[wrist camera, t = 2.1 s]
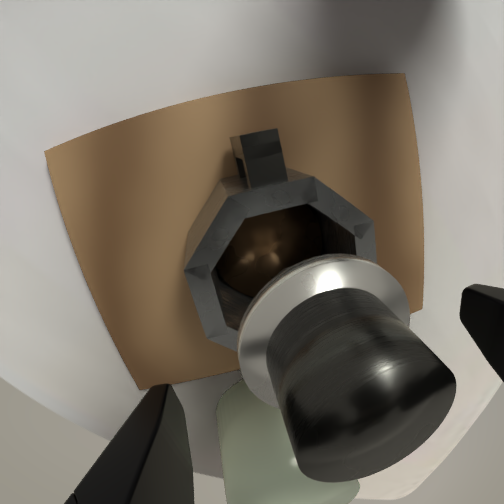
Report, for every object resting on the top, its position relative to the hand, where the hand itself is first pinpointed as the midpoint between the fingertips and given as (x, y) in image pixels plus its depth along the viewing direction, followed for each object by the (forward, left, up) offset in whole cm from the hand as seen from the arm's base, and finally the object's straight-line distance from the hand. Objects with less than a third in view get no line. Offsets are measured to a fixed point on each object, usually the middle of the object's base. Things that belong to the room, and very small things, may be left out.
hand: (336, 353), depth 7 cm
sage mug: (+2, +12, -10) cm, 16 cm away
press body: (0, 0, -9) cm, 9 cm away
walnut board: (0, 0, -10) cm, 10 cm away
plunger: (0, 0, -4) cm, 4 cm away
